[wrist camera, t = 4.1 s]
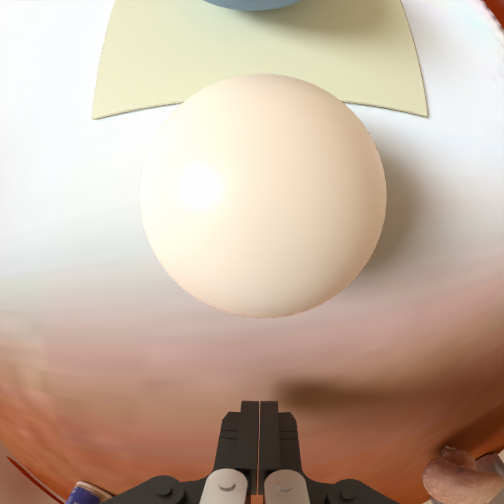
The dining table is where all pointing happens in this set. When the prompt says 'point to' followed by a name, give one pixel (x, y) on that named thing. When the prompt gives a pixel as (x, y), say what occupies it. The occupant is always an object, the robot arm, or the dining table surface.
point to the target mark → (257, 51)
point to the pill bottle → (87, 494)
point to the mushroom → (460, 479)
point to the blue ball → (252, 4)
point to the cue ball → (263, 195)
